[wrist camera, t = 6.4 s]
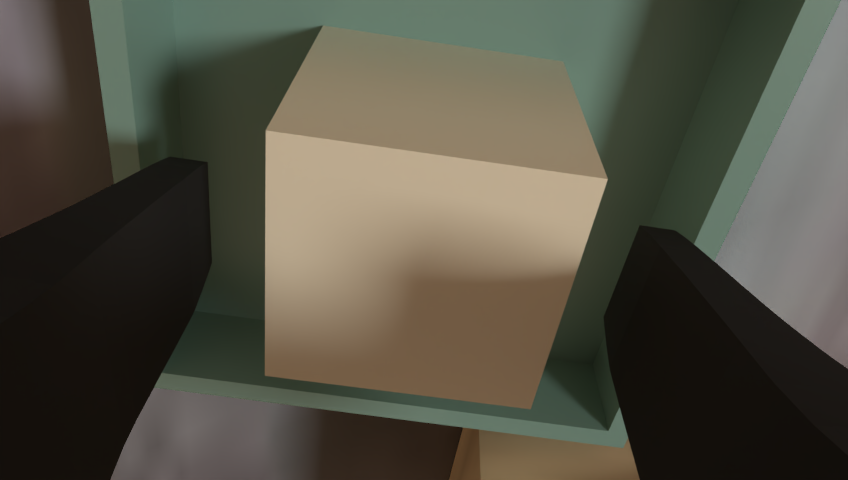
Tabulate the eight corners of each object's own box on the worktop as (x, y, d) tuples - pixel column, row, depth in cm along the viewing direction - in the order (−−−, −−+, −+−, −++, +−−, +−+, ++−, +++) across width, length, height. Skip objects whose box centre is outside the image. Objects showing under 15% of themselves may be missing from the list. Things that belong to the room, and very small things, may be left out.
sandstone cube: (563, 61, 13) (607, 179, 9) (512, 254, 15) (530, 409, 11) (322, 25, 12) (265, 130, 9) (312, 227, 15) (264, 375, 11)
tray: (795, -91, 11) (871, -61, 9) (603, 369, 18) (623, 448, 15) (137, -203, 11) (61, -199, 9) (179, 312, 17) (141, 385, 15)
